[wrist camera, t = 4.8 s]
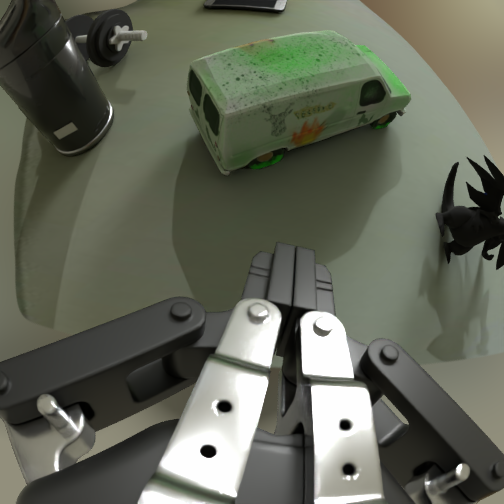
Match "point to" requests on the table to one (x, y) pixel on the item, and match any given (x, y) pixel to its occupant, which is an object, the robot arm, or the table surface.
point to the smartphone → (248, 4)
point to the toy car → (288, 96)
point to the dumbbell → (104, 36)
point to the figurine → (475, 214)
